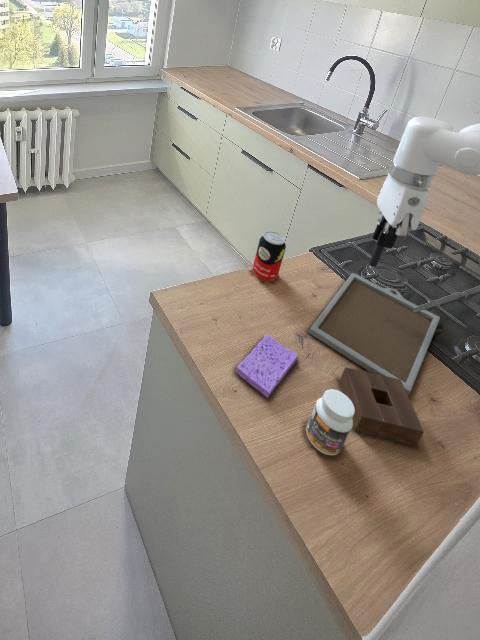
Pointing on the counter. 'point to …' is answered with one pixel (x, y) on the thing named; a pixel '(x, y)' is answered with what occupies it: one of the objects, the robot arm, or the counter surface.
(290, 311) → the counter surface
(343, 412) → the pill bottle
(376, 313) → the grey-rimmed serving tray
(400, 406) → the dock
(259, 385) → the sponge
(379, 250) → the peg
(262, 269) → the beverage can
